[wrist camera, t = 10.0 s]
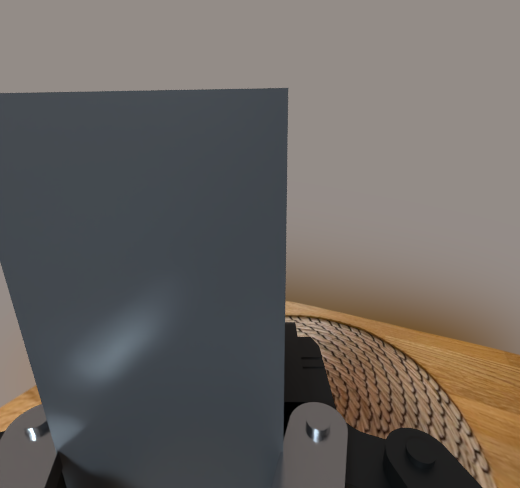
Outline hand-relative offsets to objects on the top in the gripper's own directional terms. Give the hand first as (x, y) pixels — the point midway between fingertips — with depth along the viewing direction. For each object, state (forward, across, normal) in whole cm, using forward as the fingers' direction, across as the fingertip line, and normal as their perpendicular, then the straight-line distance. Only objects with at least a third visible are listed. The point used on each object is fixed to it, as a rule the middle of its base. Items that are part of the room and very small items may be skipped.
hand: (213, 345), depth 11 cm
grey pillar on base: (-3, 0, +9) cm, 9 cm away
